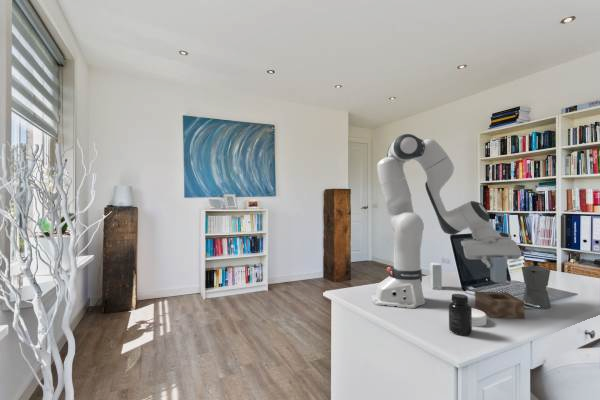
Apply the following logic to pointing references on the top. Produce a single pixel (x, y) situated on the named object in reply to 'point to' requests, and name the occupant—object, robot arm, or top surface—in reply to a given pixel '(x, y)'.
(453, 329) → the supplement bottle
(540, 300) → the coffeepot
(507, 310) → the socket block
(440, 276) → the skincare box
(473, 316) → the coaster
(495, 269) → the square peg
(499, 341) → the top surface
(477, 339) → the top surface
